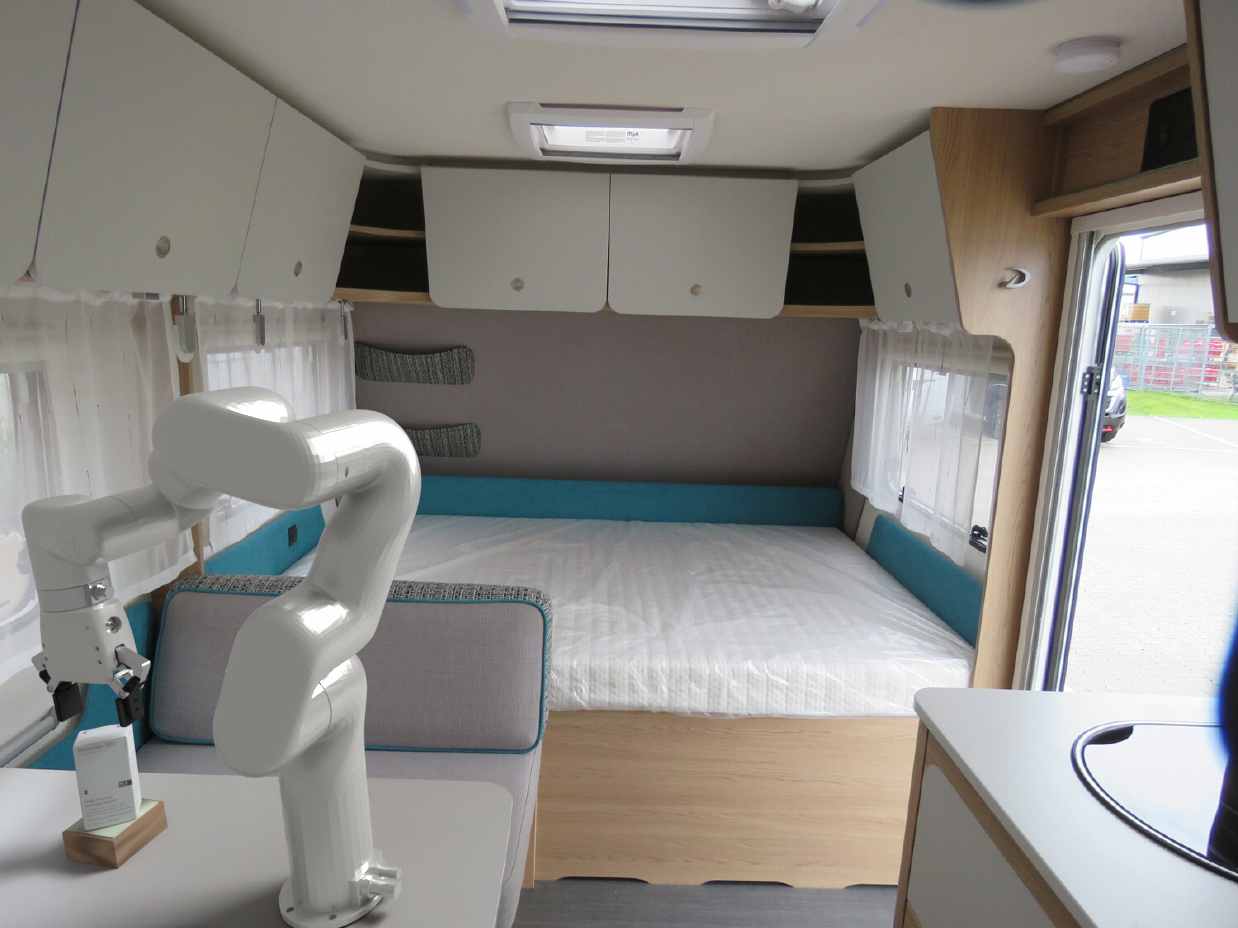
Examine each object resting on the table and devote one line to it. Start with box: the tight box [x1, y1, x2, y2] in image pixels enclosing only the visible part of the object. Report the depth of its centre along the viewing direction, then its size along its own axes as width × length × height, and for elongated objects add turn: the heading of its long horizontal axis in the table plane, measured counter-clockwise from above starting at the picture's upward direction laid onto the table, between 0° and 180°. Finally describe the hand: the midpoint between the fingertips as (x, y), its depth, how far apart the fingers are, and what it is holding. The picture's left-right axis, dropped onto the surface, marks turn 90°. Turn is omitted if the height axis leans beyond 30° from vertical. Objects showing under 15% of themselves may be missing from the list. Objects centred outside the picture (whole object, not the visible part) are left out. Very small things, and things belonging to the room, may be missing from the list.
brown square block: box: [61, 797, 168, 869], centre depth 100 cm, size 8×8×4 cm
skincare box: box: [72, 723, 142, 831], centre depth 98 cm, size 6×4×12 cm
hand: (101, 718), depth 96 cm, fingers open, 9 cm apart
